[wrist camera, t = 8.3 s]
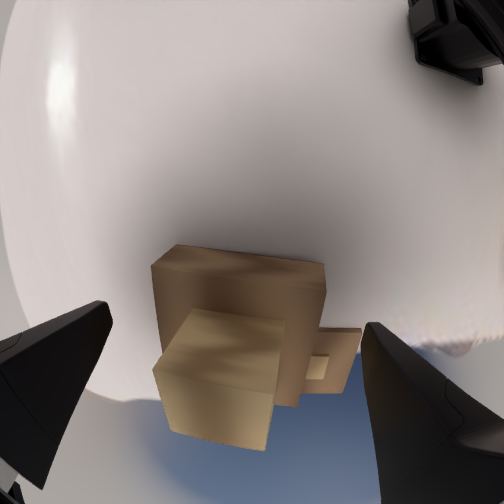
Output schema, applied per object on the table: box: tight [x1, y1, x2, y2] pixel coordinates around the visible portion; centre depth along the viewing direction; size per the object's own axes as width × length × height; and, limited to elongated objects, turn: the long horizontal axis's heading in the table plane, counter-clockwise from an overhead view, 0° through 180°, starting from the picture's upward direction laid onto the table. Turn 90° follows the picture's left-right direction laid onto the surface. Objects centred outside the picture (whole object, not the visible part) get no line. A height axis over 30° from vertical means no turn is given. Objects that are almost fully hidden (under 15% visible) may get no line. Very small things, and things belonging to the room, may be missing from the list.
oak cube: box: [152, 308, 285, 451], centre depth 16 cm, size 6×6×6 cm
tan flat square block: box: [151, 245, 326, 407], centre depth 21 cm, size 11×11×4 cm
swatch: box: [301, 328, 362, 393], centre depth 24 cm, size 8×8×1 cm
